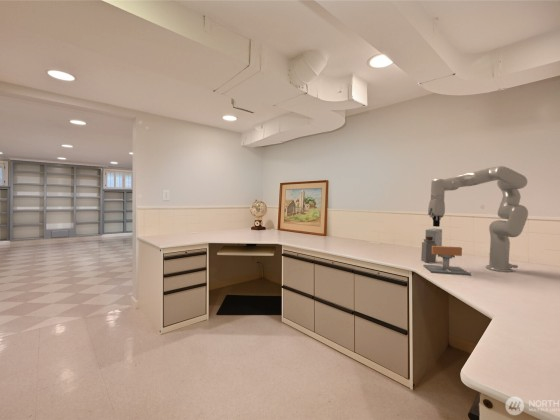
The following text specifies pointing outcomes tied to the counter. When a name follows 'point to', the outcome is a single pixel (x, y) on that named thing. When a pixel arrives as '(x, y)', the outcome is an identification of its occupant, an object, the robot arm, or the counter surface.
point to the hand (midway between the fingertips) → (436, 226)
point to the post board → (453, 270)
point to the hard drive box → (435, 235)
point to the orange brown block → (446, 251)
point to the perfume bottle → (428, 250)
